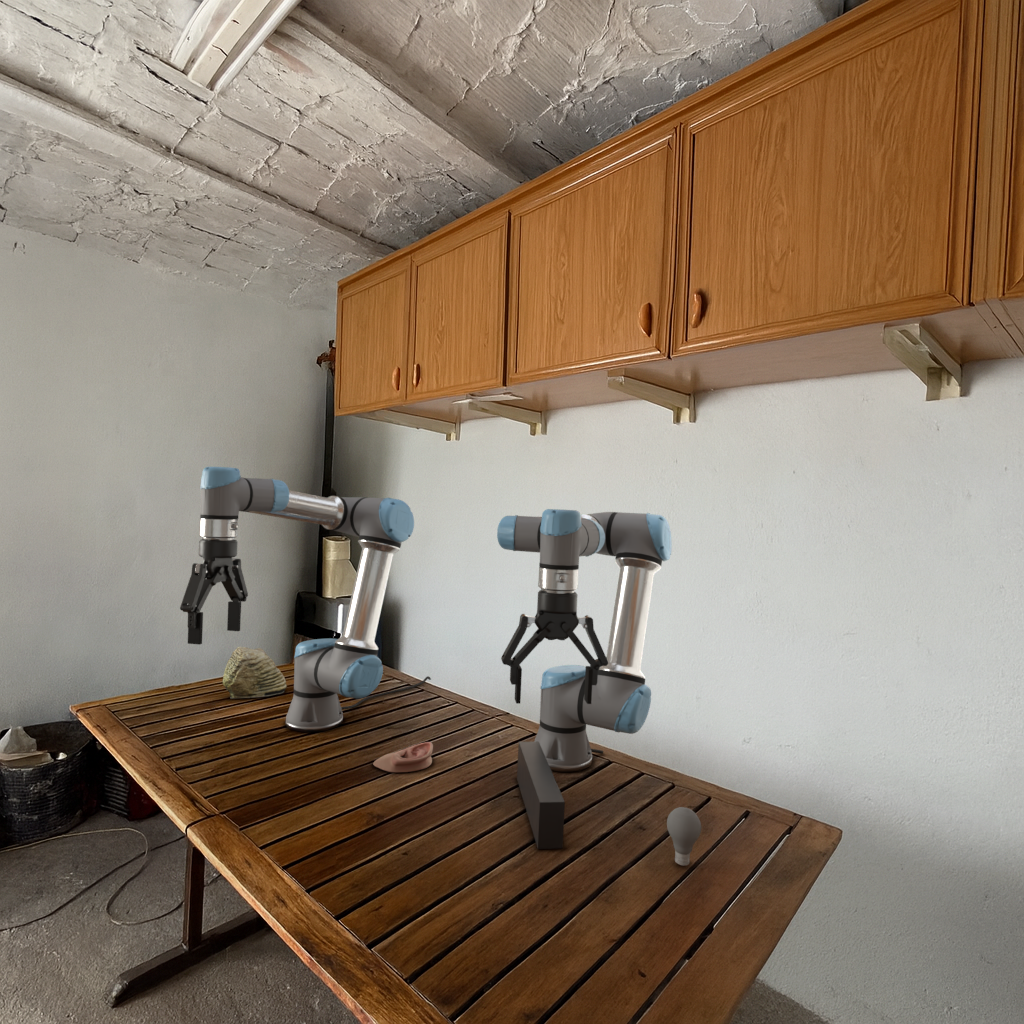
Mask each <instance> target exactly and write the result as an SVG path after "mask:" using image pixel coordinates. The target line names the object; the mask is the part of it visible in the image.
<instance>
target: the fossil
mask: <svg viewBox="0 0 1024 1024" xmlns="http://www.w3.org/2000/svg"><path fill="white" fill-rule="evenodd" d="M222 676H223V677H222V685H223V687H224V688H225V690H226V691H228V693H229V698H230V699H250V698H264V697H271V696H275V695H281V694H284V693H285V691H286V689H287V687H288V686H287V680H286V678H285V676H284V674H283V673H282V672H281V669H279V668H278V667H277V665H276V663H275V662H274V660H273V659H272V658H271V657H270V656H269V655H268V654H267V653H266V652H265V650H264V649H263V648H260V647H258V648H251V647H247V646H246V647H245V646H238V647H237V648H236V649H235V650H233V651H232V653H231V656H230V657H229V659H228V660H227V663H226V666H225V668H224V671H223V675H222Z"/></svg>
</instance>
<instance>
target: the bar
mask: <svg viewBox="0 0 1024 1024" xmlns="http://www.w3.org/2000/svg"><path fill="white" fill-rule="evenodd" d="M517 747H518V748H517V769H516V771H517V773H516V780H517V784H518V787H519V790H520V794H521V797H522V801H523V805H524V807H525V811H526V814H527V818H528V821H529V824H530V828H531V831H532V835H533V838H534V841H535V845H536V847H537V848H536V849H537V850H550V849H552V850H553V849H556V850H557V849H563V848H564V831H565V830H564V828H565V826H564V825H565V807H566V805H565V803H566V802H565V799H564V797H563V795H562V793H561V790H560V788H559V785H558V783H557V781H556V779H555V776H554V774H553V770H551V769H550V767H549V764H548V762H547V760H546V757H545V755H544V753H543V750H542V748H541V746H540V743H539V742H534V741H518V746H517Z"/></svg>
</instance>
